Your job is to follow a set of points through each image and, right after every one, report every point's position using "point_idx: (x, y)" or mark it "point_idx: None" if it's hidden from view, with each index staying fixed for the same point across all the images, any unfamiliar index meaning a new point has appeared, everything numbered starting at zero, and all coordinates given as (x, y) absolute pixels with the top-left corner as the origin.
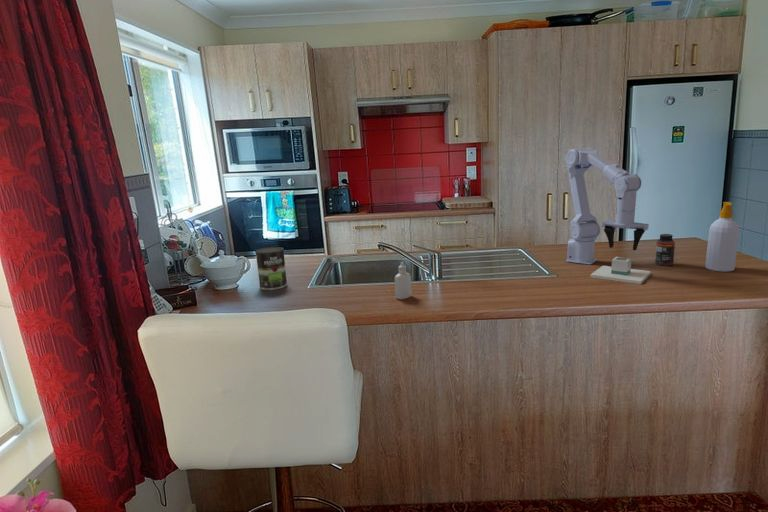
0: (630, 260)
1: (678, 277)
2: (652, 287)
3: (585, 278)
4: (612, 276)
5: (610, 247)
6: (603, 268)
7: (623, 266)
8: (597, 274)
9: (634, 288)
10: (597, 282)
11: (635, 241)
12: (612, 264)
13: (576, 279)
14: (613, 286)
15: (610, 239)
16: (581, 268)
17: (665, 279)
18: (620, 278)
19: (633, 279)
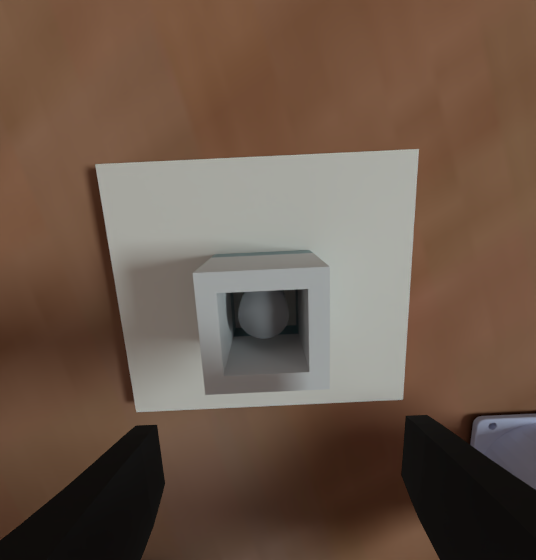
0: (204, 360)
1: (12, 410)
2: (27, 140)
3: (430, 108)
4: (280, 183)
5: (419, 417)
6: (382, 337)
7: (230, 262)
8: (378, 176)
9: (99, 50)
10: (336, 54)
11: (41, 531)
12: (315, 260)
13: (478, 45)
14: (220, 16)
15: (513, 508)
16: (504, 322)
17: (44, 342)
18: (221, 161)
19: (147, 183)
